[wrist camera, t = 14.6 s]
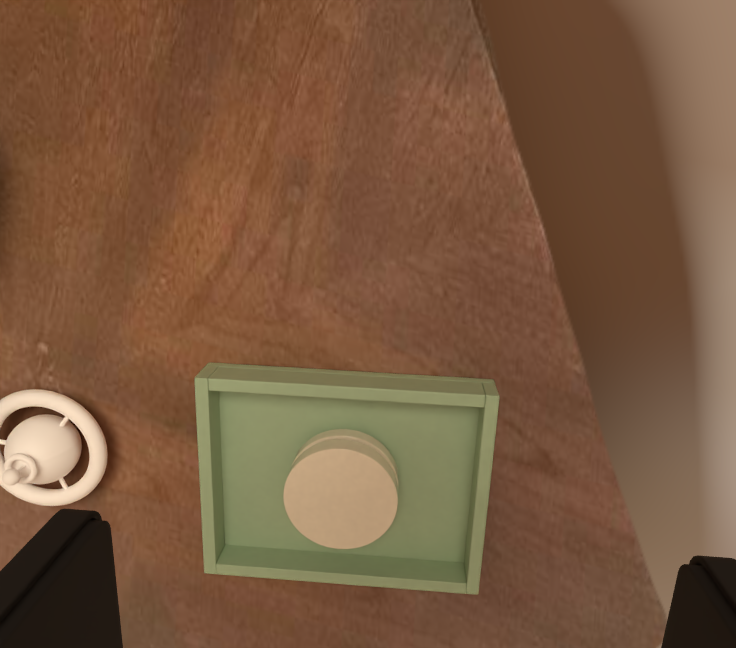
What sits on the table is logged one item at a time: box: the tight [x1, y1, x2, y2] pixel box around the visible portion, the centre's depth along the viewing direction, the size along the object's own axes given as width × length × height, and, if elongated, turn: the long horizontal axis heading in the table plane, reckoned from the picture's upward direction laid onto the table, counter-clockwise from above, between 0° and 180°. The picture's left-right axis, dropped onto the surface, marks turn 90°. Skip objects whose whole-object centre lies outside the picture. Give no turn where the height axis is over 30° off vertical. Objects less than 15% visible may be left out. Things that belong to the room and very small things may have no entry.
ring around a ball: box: [0, 389, 108, 506], centre depth 37 cm, size 8×6×8 cm
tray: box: [194, 363, 500, 594], centre depth 38 cm, size 18×14×3 cm
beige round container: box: [283, 429, 399, 549], centre depth 37 cm, size 7×7×3 cm
